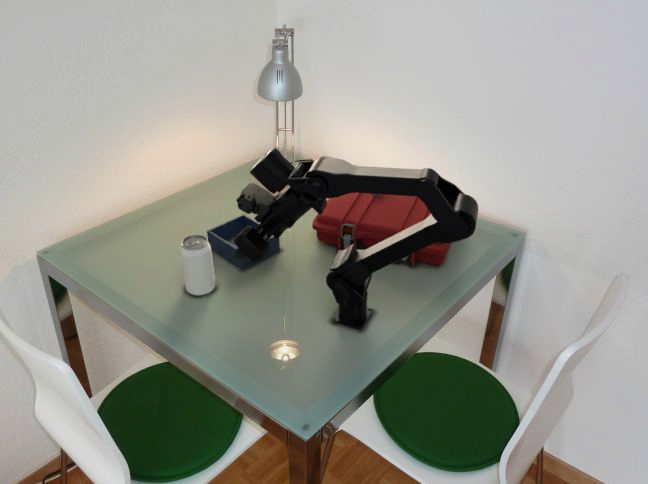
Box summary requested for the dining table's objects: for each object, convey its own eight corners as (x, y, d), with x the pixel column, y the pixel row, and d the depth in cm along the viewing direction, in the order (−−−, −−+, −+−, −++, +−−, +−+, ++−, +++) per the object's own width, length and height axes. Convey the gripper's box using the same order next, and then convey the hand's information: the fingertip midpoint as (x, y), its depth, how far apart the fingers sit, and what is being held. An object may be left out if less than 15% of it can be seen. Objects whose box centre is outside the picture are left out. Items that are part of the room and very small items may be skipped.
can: (219, 291, 137) (214, 245, 130) (190, 299, 135) (183, 253, 128) (210, 275, 142) (205, 230, 135) (182, 283, 140) (175, 238, 133)
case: (280, 250, 150) (279, 233, 147) (243, 270, 143) (241, 253, 141) (244, 229, 158) (243, 213, 155) (208, 247, 152) (206, 230, 149)
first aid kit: (461, 223, 159) (465, 193, 154) (443, 275, 140) (447, 242, 136) (341, 202, 169) (341, 173, 164) (309, 247, 151) (309, 217, 146)
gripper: (280, 155, 126) (238, 197, 135) (237, 198, 111) (193, 241, 121) (319, 195, 127) (274, 233, 137) (281, 243, 113) (234, 282, 122)
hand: (245, 245), depth 129 cm, fingers open, 9 cm apart
